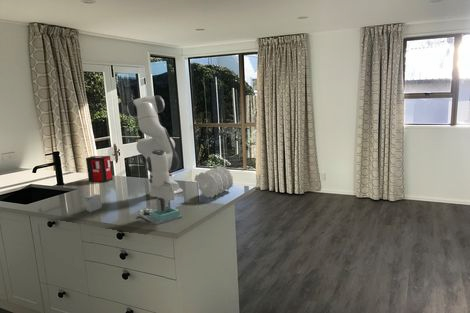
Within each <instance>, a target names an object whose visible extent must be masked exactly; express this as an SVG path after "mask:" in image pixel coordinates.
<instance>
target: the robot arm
mask: <svg viewBox="0 0 470 313" xmlns="http://www.w3.org/2000/svg"><path fill="white" fill-rule="evenodd" d="M165 105H166V104H165V100H164V99H163V98H162V96H161V95H150V96H149V95H148V96H144V97H139V98H136V99H131V100H129V101H127V105H126V111H127V113H128V115H129V116H131V117H132V118H137V123H138V126H139V127H138V128H139V130H140V132H141V133H143V134H144V135H145V136H148V137H145V138H140V139H138V141H137V142H136V150H137V152H138V153H139V154H140V155H141V156H143V157H144V158H145V169H146V171H148V172H149V179H148V181H149V183H150V184H149V185H150V187H149V188H150V191H149V192H150V193H149V197H152V198H156V199H159V198H163V199H164V201H165V203H164V206H165V207H167V206H168V202H169V201H170V202H171V201H174V200H175V197H176V194H180V193H182V192H183V189H182V188H181V187H180V185H179V183H178V182H177V181H175V180H174V179H172V178H171V177H173V174H172V173H170V172H171V171H173V172H174V171H176V170H178V168H179V167H180V165H181V163H180V162H181V161H180V158H179V155H178V153H177V152H176V150H175V148H176V142H175V140H174V139H173V138H172V137H170V135H169V133H168V130H167V128H166V126H165V127H164V126H162V124H161V123H160V118H159V115H158V114H160V113H162V112H163V111H164V110H165ZM169 171H170V172H169Z"/></svg>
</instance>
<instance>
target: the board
mask: <svg viewBox="0 0 470 313" xmlns="http://www.w3.org/2000/svg"><path fill="white" fill-rule="evenodd" d="M154 210H155V209H154ZM154 210H153V209H152V208H150V209H149V208H143V209H140V210H139V214H138V216H139V217H140V218H142V219H144V220H145V221H146V220H147V221H148V222H150V223H152V224H154V225H156V226H159V225H161V224H165V223H168V222H173V221H174V220H178V219H181V218H183V217H182V215H181V214H180V216H177V217H174V218H170V219H167V220H163V221H158V220H156V219H154V218H152V217H150V215H144V211H145V212H147V213H148V212H149V213H150V211H154ZM168 213H170V212H168ZM164 214H166V213H164ZM161 215H163V214H161Z"/></svg>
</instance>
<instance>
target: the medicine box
mask: <svg viewBox="0 0 470 313" xmlns="http://www.w3.org/2000/svg"><path fill="white" fill-rule="evenodd" d="M84 200H85V208H86V212H89V213H92V212H95V211H97V210H100V209H103V207H102V199H101V194H96V193H95V194H92V195H88V196H86V197H84Z"/></svg>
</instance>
